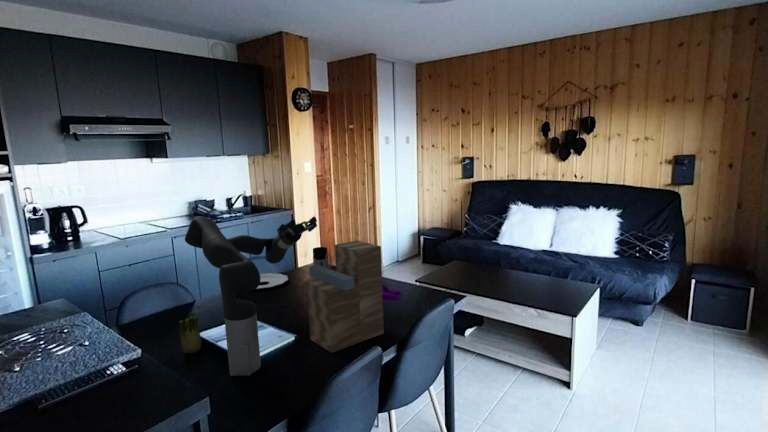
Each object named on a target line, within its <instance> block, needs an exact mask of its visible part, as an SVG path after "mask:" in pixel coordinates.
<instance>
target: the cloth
mask: <svg viewBox="0 0 768 432" xmlns="http://www.w3.org/2000/svg"><path fill="white" fill-rule="evenodd" d="M382 294H383V303H391V302H392V301H394V300H397V301H398V300H400V299H403V297H402V296H400V295H399V294H401V292H400V290H398V289H396V288H392V289H391V288H390V289H389V287H388V286H386V285H385V284H383V283H382Z"/></svg>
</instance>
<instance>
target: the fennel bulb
mask: <svg viewBox="0 0 768 432" xmlns="http://www.w3.org/2000/svg"><path fill="white" fill-rule="evenodd" d="M198 322H199V321H198V316H189V317H188V318H186V319H185V320H180V321H179V322H178V323H179V331H180V333H179V334H180V346H181V349H182V351H183V352H184V354H195V353H197V352H199V351H200V349H201V347H202V338H201V337H202V336H201V334H200V329H199V323H198Z"/></svg>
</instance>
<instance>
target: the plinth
mask: <svg viewBox="0 0 768 432" xmlns="http://www.w3.org/2000/svg"><path fill="white" fill-rule="evenodd" d="M334 255H335V257H334V260H335V271H337V272H339V273H342V274H345V275H348V276H350V277H353V278H354V288H353V289H349V290H346V291H345V290H343V289H340V288H338V287H335V286H333V285H331V284H328V283H326V282H323V281H321V280H318V279H316V278H315V279H313V280H312V279H311V280H308V281H306V289H307V290H306V291H307V292H306V293H307V304H308V305H307V307H308V320H309V321H308V323H309V324H308V325H309V337H310V340H311V341H312V342H314V343H316V344H317V345H318V346H320V347H322V348H324V350H327V351H328V352H329V353H332V354H333V353H336V352H338V351H340V350H344V349H345V348H348V347H350V346H354V345H357V344H358V343H363V342H365V341H366V340H369V339H373V338H375V337H378V336H380V335H381V336H382V335H383V334H384V332H385V331H384V330H385V329H384V326H385V325H384V302H383V301H384V299H383V294H382V284H383V272H382V271H383V270H382V268H383V267H382V246H381V245H377V244H373V243H369V242H366V241H360V240H353V241H348V242H347V241H346V242H343V243H337V244H334Z"/></svg>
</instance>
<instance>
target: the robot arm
mask: <svg viewBox="0 0 768 432" xmlns="http://www.w3.org/2000/svg"><path fill="white" fill-rule="evenodd" d="M317 222H318V221H317V217H316V216H312V217H311V218H310V219H309V220H307V221H305V220H304V221H302V222H297V223H296V220H295V219H291V220H290V221H289V222H286V223H285V224H284V223H282V224H280V226H279V227H278V228H277V229H276V231H277V235H276V236H274V237H272V238H259V237H255V236H251V235H245V234H244V235H243V234H242V235H237V236H232V237H230V238H227V237H226V236H225V235H224V234H223V233H222V231H221V229H220V228H219V226H218V225H217V223H216V222H215V221H214V220H212V219H211V218H208V217H207V216H204V215H201V216H200V215H198V216H197V215H196V216H195V217H193V219H191V221H190V224H189V226H188V229H187V231H186V234H185V236H184V242H185V243H186V244H187V245H188V246H192V247H194V248H197V249H198V248H199V249H202V252H203V253H202V254H203V256H204V257H205V259H206V260H207V262H209V265H211V266H212V267H215V268H217V269H219V272H218V280H219V281H218V282H219V285H220V286H219V288H220V294H221V301H222V308H223V315H224V326H225V327H224V329H225V338H226V348H227V358H228V369H229V376H231V377H233V376H236V377H237V376H251V375H252V374H253V373H255V372H257V371H258V370H259V369H260V368H261V366H262V362H261V352H260V337H259V329H258V328H259V327H258V318H257V317H258V315H257V306H256V304H255V302H252V301H251V300H244V299H243V300H242V299H238V298H237V297H236V296H237V295H239V294H245V293H249V292H252V291H254V290H255V289H256V288H257V287H258V286H259V285H260V284H261V282H260V274H261V273H260V271H259V269H258V267H257V265H256V264H255V263H254V262H253V261H252V260H251V259H249V258H248V257H246V256H245V255H243V254H248V255H251V256H252V255H253V256H260V255H261V254H263V252H264V250H265V254H264V257H265V260H266V262H268V263H269V264H278V263H280V262H281V261H282V260H283V259H284V258H285V256H286V254H287V252H288V250H289V249H290V248H291V247H293V246H294V245H295V244H296V243H297V242H298V241H299V240H300V239H301V237H302V235H303V233H304V232H308V233H310V232H312V231H313V230H314V229H316V228H317V227H318V224H317ZM242 253H243V254H242ZM255 291H256V290H255Z"/></svg>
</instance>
